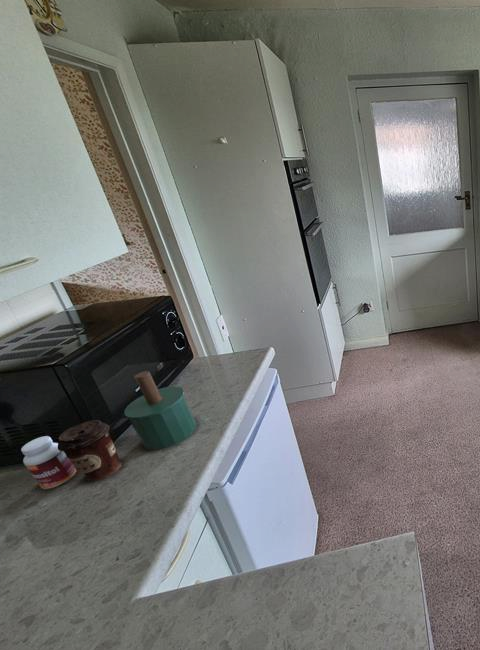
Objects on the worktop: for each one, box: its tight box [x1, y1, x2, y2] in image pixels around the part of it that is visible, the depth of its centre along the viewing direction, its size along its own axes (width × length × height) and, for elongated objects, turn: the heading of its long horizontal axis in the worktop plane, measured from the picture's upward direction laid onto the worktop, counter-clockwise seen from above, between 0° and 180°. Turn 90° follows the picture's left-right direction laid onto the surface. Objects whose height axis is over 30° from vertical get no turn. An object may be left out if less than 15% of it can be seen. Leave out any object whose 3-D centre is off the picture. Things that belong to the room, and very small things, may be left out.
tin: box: [128, 396, 197, 451], centre depth 98 cm, size 11×11×10 cm
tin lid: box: [123, 370, 185, 420], centre depth 94 cm, size 12×12×9 cm
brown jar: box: [57, 419, 122, 483], centre depth 87 cm, size 9×8×13 cm
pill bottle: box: [20, 435, 77, 490], centre depth 87 cm, size 6×6×11 cm
